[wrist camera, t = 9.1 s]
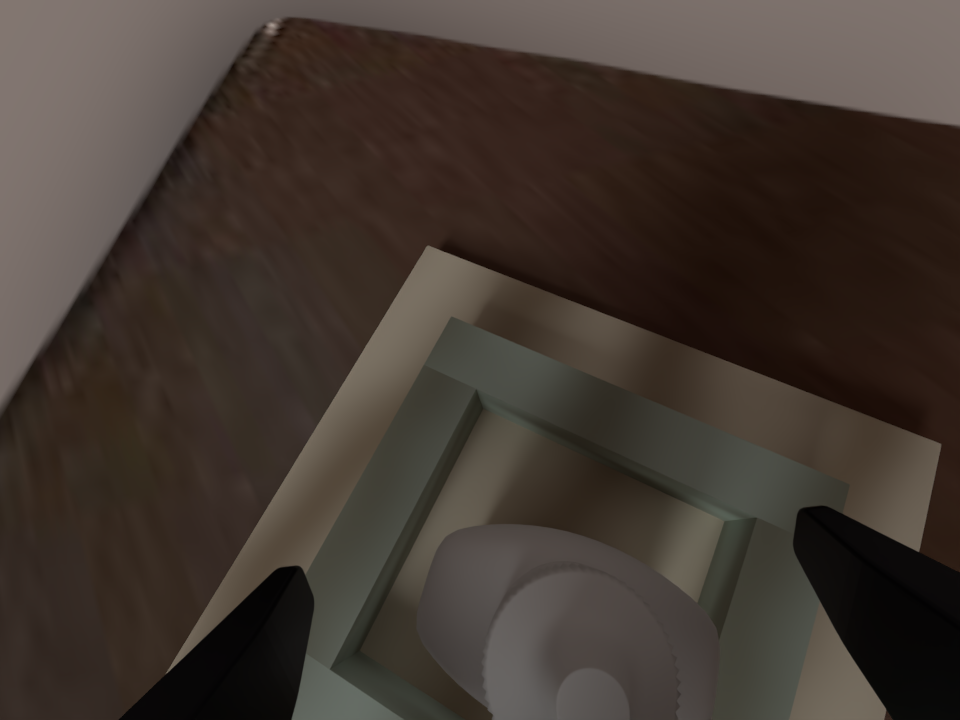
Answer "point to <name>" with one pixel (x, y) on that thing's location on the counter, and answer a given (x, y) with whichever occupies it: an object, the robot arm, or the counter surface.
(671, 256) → the counter surface
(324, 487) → the bottle socket
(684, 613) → the eye dropper bottle
